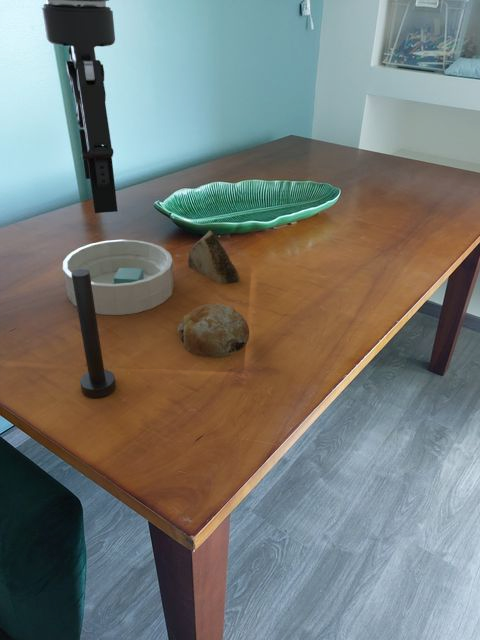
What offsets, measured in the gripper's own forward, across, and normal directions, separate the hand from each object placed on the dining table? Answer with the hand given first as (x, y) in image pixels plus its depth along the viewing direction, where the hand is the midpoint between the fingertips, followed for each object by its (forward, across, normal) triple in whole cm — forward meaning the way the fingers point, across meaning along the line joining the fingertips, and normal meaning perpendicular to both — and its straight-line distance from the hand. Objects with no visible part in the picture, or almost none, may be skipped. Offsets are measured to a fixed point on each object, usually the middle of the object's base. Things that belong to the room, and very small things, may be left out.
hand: (100, 193), depth 71 cm
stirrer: (+21, -14, +4) cm, 26 cm away
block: (+20, +9, -3) cm, 22 cm away
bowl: (+21, +11, -2) cm, 24 cm away
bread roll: (+21, -8, -13) cm, 26 cm away
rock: (+21, +13, -19) cm, 32 cm away
